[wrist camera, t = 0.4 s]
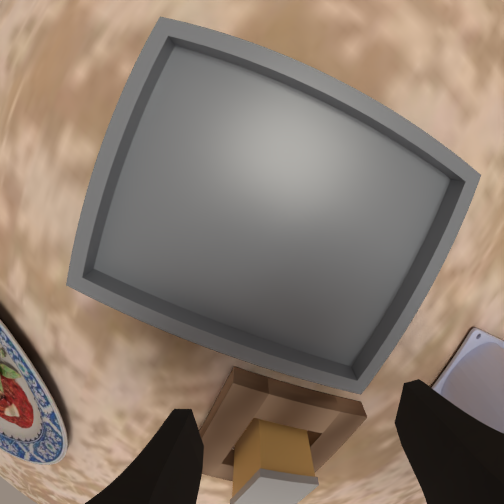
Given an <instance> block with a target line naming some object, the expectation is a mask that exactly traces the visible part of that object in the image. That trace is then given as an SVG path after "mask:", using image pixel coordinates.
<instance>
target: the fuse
mask: <svg viewBox="0 0 504 504" xmlns="http://www.w3.org/2000/svg"><path fill="white" fill-rule="evenodd" d="M318 485H319V483H318V477H315V473H314V467H313V461H312V456H311V450H310V445H309V440H308V434H307V430H304V429H299V428H294V427H290V426H285V425H281V424H277V423H273V422H269V421H265V420H261V419H257V418H253V419H252V421H251V422H250V424H249V425H248V427H247V428H246V430H245V431H244V432H243V434H242V435H241V437H240V438H239V440H238V441H237V443H236V444H235V449H234V470H233V492H232V498H231V499H230V504H297V503H298V502H299V501H301V500H302V499H303V498H304V497H305V496H307V495H308V494H309V493H310V492H311V491H313V490H314V489H315V488H316V487H317V486H318Z"/></svg>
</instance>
